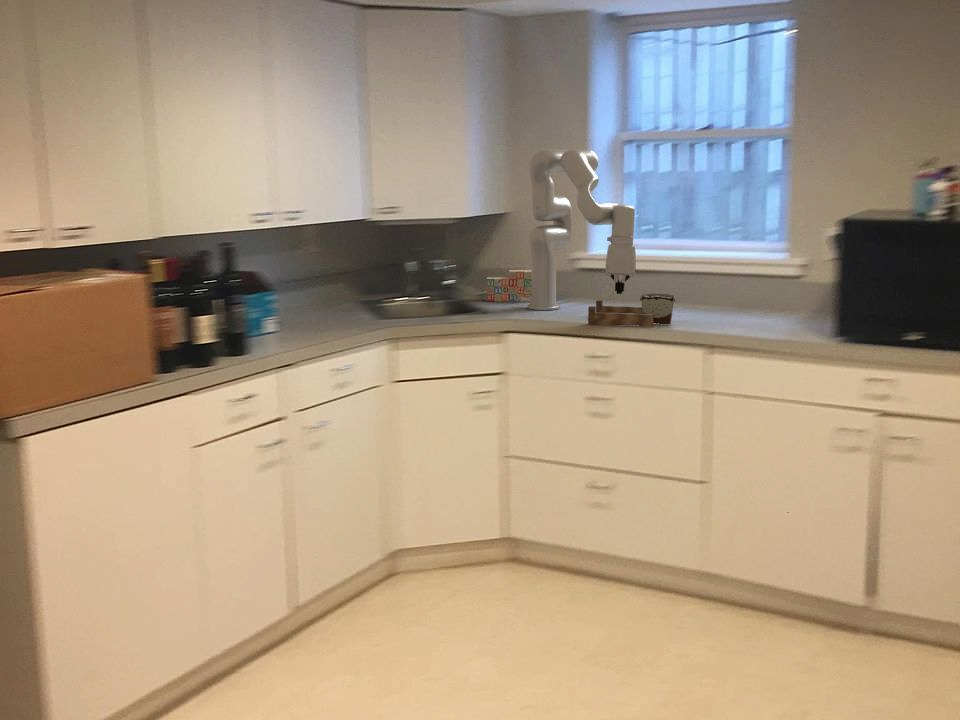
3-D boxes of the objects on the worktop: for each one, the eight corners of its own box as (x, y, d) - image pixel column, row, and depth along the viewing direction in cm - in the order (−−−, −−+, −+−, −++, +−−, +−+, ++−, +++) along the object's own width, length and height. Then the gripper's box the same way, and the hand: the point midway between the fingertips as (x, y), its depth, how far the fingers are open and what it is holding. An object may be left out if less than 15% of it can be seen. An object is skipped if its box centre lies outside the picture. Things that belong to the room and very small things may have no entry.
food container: (677, 322, 347) (678, 293, 345) (674, 325, 341) (675, 296, 340) (642, 320, 351) (643, 292, 350) (639, 323, 346) (639, 294, 344)
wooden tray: (588, 324, 344) (588, 307, 342) (597, 316, 363) (597, 299, 362) (652, 326, 338) (652, 309, 337) (658, 318, 357) (658, 301, 356)
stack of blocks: (486, 301, 403) (486, 271, 401) (487, 299, 409) (486, 269, 407) (539, 301, 402) (539, 271, 400) (539, 299, 408) (539, 269, 406)
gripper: (599, 241, 344) (596, 293, 348) (642, 243, 340) (639, 296, 344) (602, 239, 351) (599, 290, 355) (645, 241, 347) (641, 293, 351)
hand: (619, 293), depth 350 cm, fingers closed
